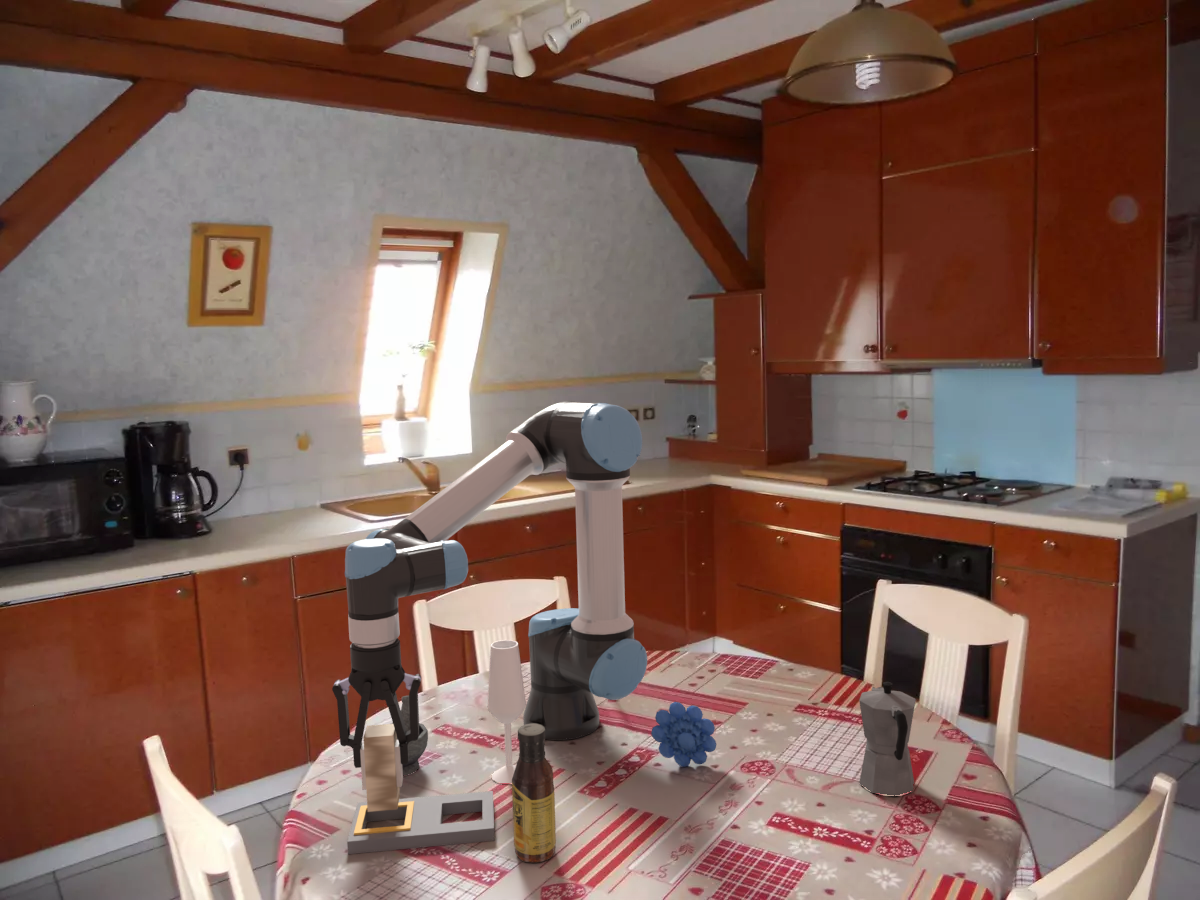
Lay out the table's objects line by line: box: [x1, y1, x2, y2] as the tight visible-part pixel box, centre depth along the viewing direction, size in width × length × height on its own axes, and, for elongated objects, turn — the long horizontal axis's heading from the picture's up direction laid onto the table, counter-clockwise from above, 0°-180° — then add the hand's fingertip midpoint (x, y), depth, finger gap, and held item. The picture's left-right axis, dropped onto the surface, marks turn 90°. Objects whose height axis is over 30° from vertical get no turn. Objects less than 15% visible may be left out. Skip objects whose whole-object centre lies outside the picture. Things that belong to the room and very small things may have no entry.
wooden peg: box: [362, 723, 401, 812], centre depth 145 cm, size 4×4×12 cm
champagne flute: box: [487, 639, 527, 783], centre depth 162 cm, size 7×7×24 cm
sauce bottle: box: [511, 723, 557, 864], centre depth 137 cm, size 6×6×20 cm
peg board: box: [346, 790, 496, 855], centre depth 147 cm, size 22×12×2 cm, turn 97°
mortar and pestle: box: [390, 695, 429, 776], centre depth 167 cm, size 11×9×12 cm
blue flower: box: [650, 701, 717, 768], centre depth 163 cm, size 12×7×12 cm, turn 93°
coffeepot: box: [858, 681, 917, 796], centre depth 154 cm, size 15×9×18 cm, turn 0°
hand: (382, 783), depth 145 cm, fingers closed on wooden peg, 4 cm apart
